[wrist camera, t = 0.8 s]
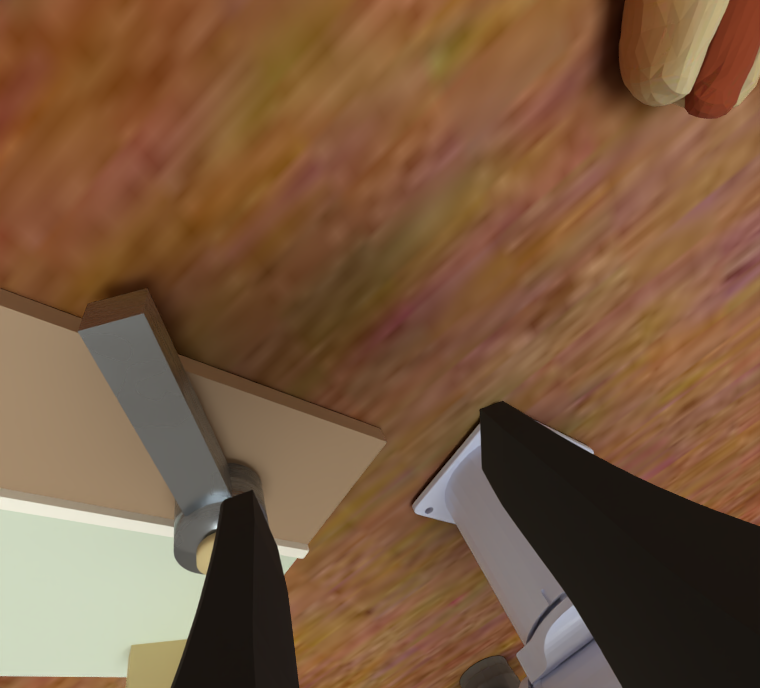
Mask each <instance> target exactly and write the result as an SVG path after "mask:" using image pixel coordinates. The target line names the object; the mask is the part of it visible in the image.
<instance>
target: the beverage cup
mask: <svg viewBox="0 0 760 688" xmlns="http://www.w3.org/2000/svg"><path fill="white" fill-rule="evenodd" d="M520 683H521V682H520V680H519V679H518V677H517V676H516V675H515V673H514V672H513V670H512V669H511V667H510V666H509V665H508V663H507V661H506V659H505V658H504V657H503V656H492V657H489V658H486V659H484V660H482V661H480V662H478V663H476V664H475V665H473V666H472V667H470V668H469V669H468V670H467V671H466V672H465V673H464V674H463V676H462V677H461V679H460V685H461V687H462V688H519V685H520Z"/></svg>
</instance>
